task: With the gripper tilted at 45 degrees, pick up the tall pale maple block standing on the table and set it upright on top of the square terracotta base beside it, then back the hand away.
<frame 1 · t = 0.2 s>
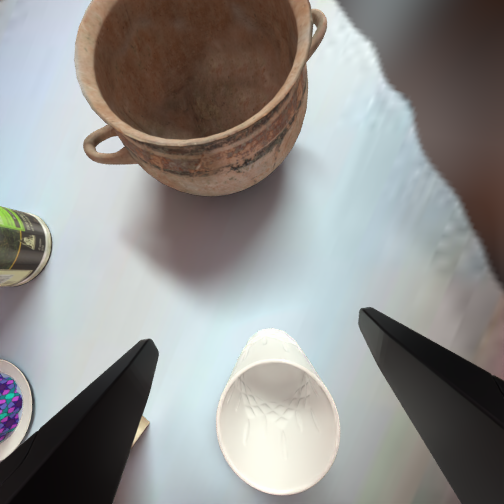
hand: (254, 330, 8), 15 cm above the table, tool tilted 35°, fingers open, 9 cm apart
coffee can: (19, 248, 26), on the table
cooking pot: (225, 148, 26), on the table
white cup: (271, 357, 22), on the table
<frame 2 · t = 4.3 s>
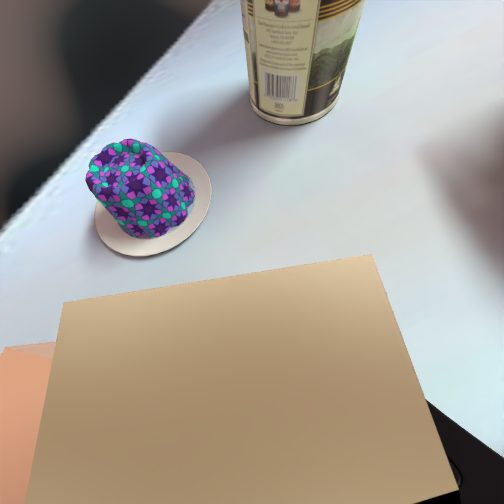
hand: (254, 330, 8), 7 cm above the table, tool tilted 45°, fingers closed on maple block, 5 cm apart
coffee can: (292, 96, 23), on the table
maple block: (265, 345, 14), on the table, touching gripper
pudding: (157, 204, 20), on the table
terracotta base: (82, 456, 13), on the table
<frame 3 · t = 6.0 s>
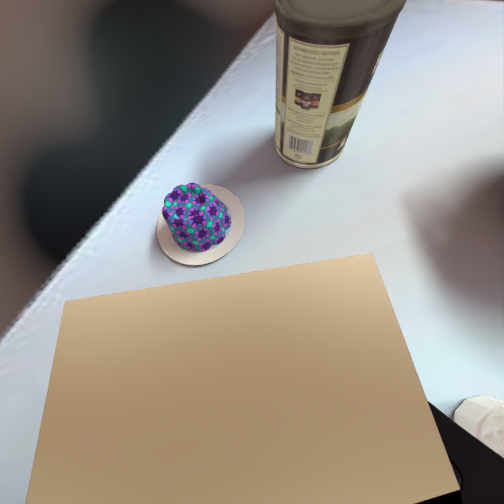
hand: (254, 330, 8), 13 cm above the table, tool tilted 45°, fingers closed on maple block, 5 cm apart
coffee can: (308, 142, 29), on the table
maple block: (265, 345, 14), point 7 cm above the table, touching gripper
pudding: (202, 224, 26), on the table
white cup: (493, 440, 16), on the table
when the fingers open (11 cm above the table, at t = 8.0 s): maple block drops 1 cm, resting on terracotta base.
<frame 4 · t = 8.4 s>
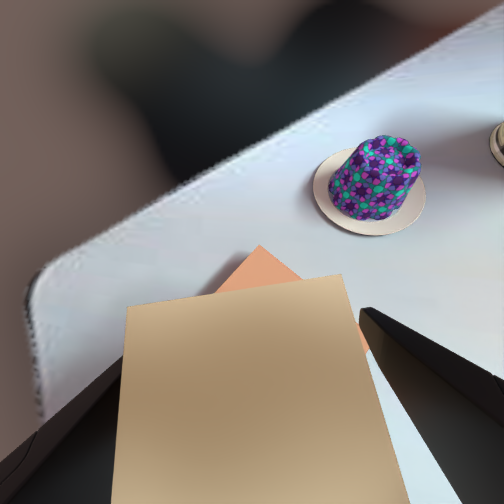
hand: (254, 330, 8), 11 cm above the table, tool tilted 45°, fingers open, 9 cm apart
maple block: (265, 342, 15), point 3 cm above the table, touching terracotta base
pudding: (363, 192, 23), on the table
terracotta base: (266, 338, 18), on the table
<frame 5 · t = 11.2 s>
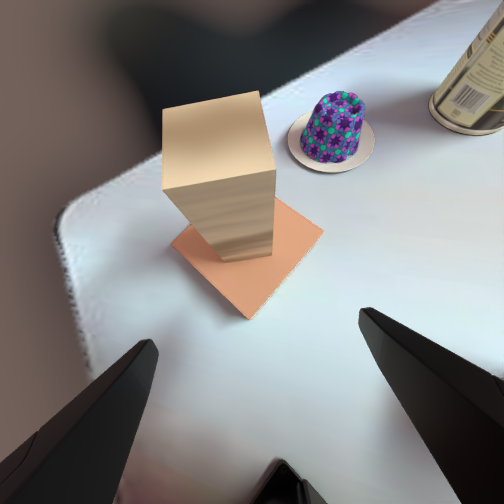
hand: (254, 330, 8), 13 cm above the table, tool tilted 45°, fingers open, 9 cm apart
coffee can: (465, 109, 28), on the table
maple block: (245, 237, 21), point 3 cm above the table, touching terracotta base
pudding: (328, 143, 28), on the table
terracotta base: (248, 246, 24), on the table
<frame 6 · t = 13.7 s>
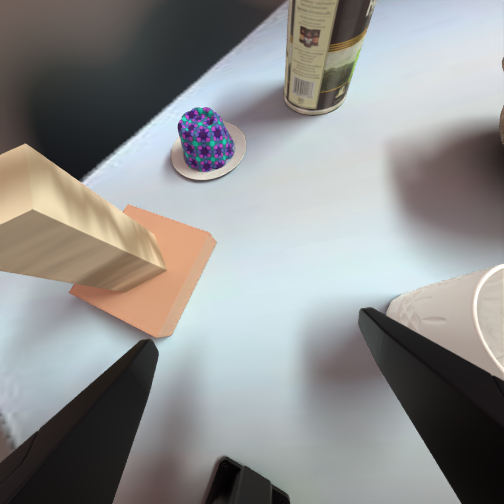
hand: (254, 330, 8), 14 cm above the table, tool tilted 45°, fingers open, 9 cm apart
coffee can: (313, 95, 32), on the table
maple block: (140, 262, 22), point 3 cm above the table, touching terracotta base
pudding: (210, 153, 31), on the table
white cup: (419, 325, 20), on the table
terracotta base: (155, 268, 24), on the table
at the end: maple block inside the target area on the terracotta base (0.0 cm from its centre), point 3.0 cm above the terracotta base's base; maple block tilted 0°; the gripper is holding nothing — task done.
